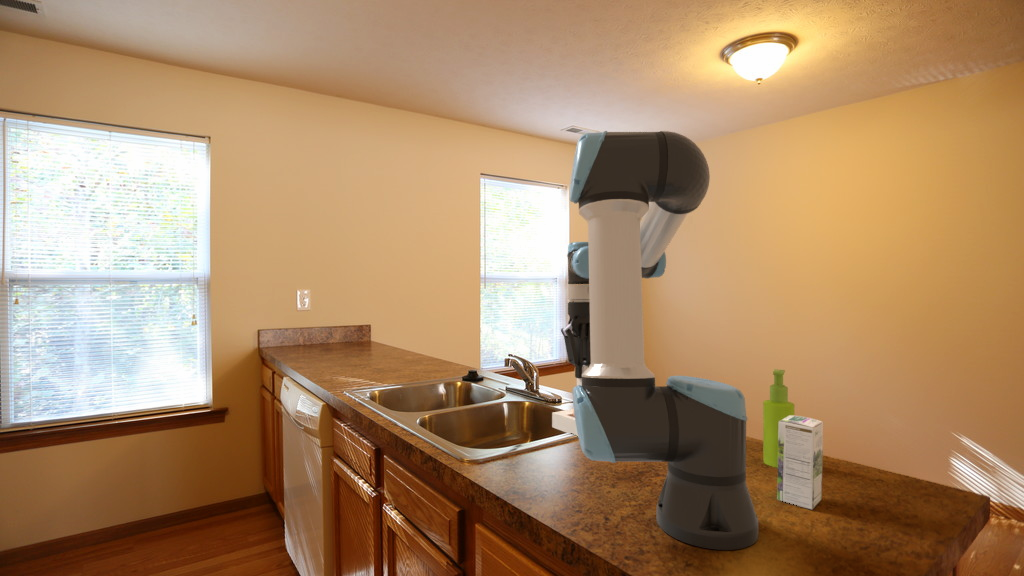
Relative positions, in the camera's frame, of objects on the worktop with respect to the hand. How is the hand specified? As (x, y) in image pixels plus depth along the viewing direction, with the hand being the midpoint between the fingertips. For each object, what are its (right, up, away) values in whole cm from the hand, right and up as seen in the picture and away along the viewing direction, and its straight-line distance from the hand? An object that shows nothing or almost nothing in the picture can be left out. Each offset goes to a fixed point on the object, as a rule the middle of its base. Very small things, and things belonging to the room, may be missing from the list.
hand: (582, 390), depth 132 cm
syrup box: (+33, -11, -43) cm, 55 cm away
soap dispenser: (+39, -11, -24) cm, 47 cm away
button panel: (+7, -11, +5) cm, 14 cm away
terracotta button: (0, -8, 0) cm, 8 cm away
